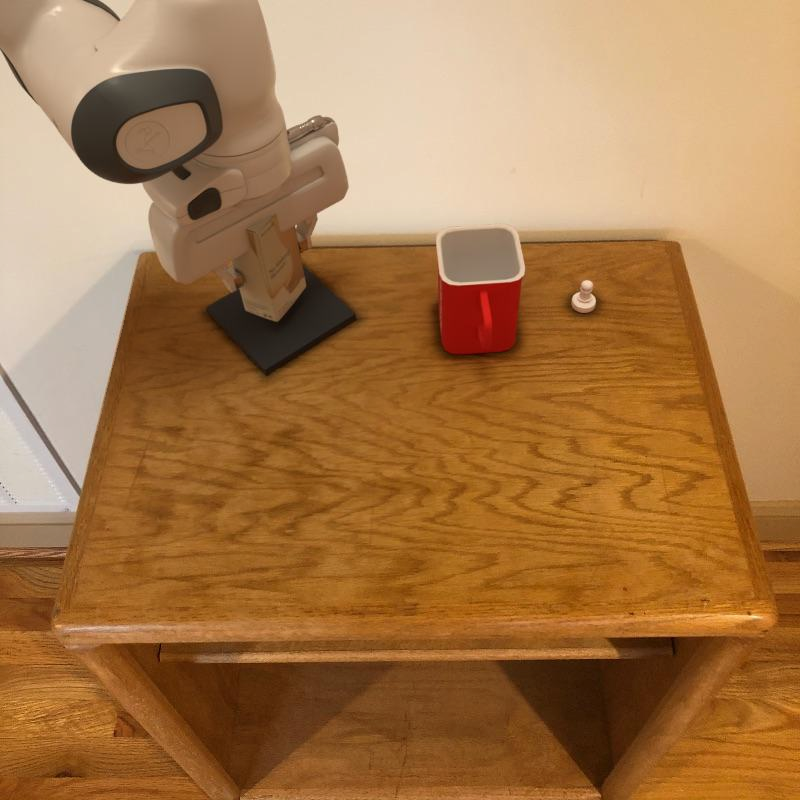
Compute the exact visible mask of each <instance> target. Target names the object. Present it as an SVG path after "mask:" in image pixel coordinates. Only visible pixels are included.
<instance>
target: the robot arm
mask: <svg viewBox="0 0 800 800" xmlns="http://www.w3.org/2000/svg"><path fill="white" fill-rule="evenodd" d="M0 52H1V53H2V56H3V58H4V60H5V61H6V63H7V65H8V67H9V69H10V71H11V72H12V74H13V76H14V77H15V79H16V81H17V83H18V84H19V85H20V87H21V88H22V89H23V90H24V91H25V93H26V94H27V95H28V96H29V97H30V98H31V99H32V101H33V102H35V104H37V105H38V107H39V108H40V110H42V112H43V113H44V114H45V116H46V117H47V118H48V119H49V121H50V122H51V123H52V125H53V126H54V127H55V129H56V130H57V131H58V133H59V134H60V136H61V138H63V140H64V141H65V143H66V144H67V145H68V146H69V148H70V149H71V150H72V151H73V153H74V154H75V155H76V156H77V158H78V159H79V160H80V162H81V163H82V164H83V166H84V167H85V168H87V169H88V171H90V172H91V173H92V174H94V175H96V177H99V178H101V179H103V180H105V181H107V182H111V183H116V184H120V185H121V184H122V185H138V184H142V186H143V189H144V191H145V193H146V195H148V197H149V198H150V199H151V201H152V202H151V204H150V206H149V209H148V217H147V219H148V220H147V221H148V226H149V232H150V236H151V240H152V244H153V247H154V250H155V253H156V256H157V259H158V261H159V263H160V265H161V267H162V269H163V270H164V271H165V272H166V274H168V276H170V278H171V279H172V280H173V281H175V282H177V283H179V284H182V285H185V286H189V285H190V284H193V283H194V282H196V281H198V280H199V279H201V278H203V277H205V276H207V275H209V274H210V273H212V272H213V273H214V274H215V275H216V276H217V277H219V278H220V279H221V280H222V283H223V285H224V286H225V288H226V289H227V290H228V291H229V293H233V292H234V291H236V290H238V289H239V288H241V287H243V286H244V283H243V282H242V281H243V278H242V275H241V274H240V273H239V272H238V271H236V269H235V268H234V267H233V265H231V266H228V264H229V263H230V262H232V260H234V259H236V258H238V257H239V256H241V255H243V254H245V253H247V252H248V251H249V246H248V242H247V238H246V234H245V230H246V229H247V228H249V227H250V226H252V225H254V224H256V223H258V222H261V221H263V220H265V219H267V218H269V217H272V216H275V215H276V214H277V217H278V222H279V228H280V231H281V232H282V233H283V232H285V231H287V230H288V229H290V228H292V227H294V226H295V227H296V233H297V238H298V244H299V249H300V255H301V254H303V253H304V252H306V251H308V250H310V249H311V248H313V242H312V236H313V233H314V231H315V227H316V225H317V222H318V214H319V213H321V212H323V211H324V210H327V209H328V208H330V207H332V206H334V205H335V204H338V203H339V202H341V201H343V200H344V199H345V197H346V195H347V193H348V190H349V188H350V187H349V186H350V185H349V179H348V175H347V170H346V166H345V163H344V160H343V156H342V153H341V151H340V149H339V144H340V135H339V128H338V125H337V123H336V121H335V120H334V119H333V118H331V117H329V116H322V115H321V114H318V115H314V116H312V117H309V118H308V119H307V120H306V121H304V122H302V123H300V124H297V125H294V126H291V127H290V128H287V125H286V119H285V114H284V110H283V107H282V105H281V104H280V101H279V100H278V98H277V95H276V80H277V70H276V64H275V60H274V59H275V58H274V54H273V50H272V44H271V42H270V36H269V33H268V29H267V25H266V22H265V17H264V13H263V12H262V8H261V5H260V3H259V0H134V2H133V4H131V6H130V8H129V9H128V11H127V12H126V13H125V14H124V16H123V17H122V18H120V17H119V16H118V14H117V13H116V12H115V10H113V9H112V8H111V7H110V6H108V5H107V4H105V3H104V2H102V1H101V0H0Z"/></svg>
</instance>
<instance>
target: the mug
mask: <svg viewBox="0 0 800 800" xmlns="http://www.w3.org/2000/svg"><path fill="white" fill-rule="evenodd" d="M520 240H521V239H520V235H519V232H518V230H517V229H516V228H515V227H513V226H512V225H510V224H507V223H489V224H488V223H487V224H474V225H459V226H450V227H445V228H442V229H441V230H439V231H438V232H437V233H436V236H435V243H436V244H435V247H436V255H437V275H438V276H437V291H438V293H437V295H438V296H437V297H438V298H437V301H438V320H439V321H438V322H439V329H440V338H441V339H440V340H441V345H442V348H443V349H444V351H446V352H447V353H448V354H451V355H470V354H486V353H487V354H488V353H502V352H506V351H509V350H511V349H512V348H513V347H514V346H515V343H516V337H517V336H516V335H517V326H518V318H519V317H518V316H519V308H520V299H521V291H522V281H523V278H524V276H525V274H526V264H525V258H524V254H523V250H522V245H521V241H520Z"/></svg>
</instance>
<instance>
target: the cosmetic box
mask: <svg viewBox="0 0 800 800" xmlns="http://www.w3.org/2000/svg"><path fill="white" fill-rule="evenodd" d="M296 227H297V226H294V227H292V228H290V229H288V230H287V231H285V232H283V233H282V232H281V231H280V228H279V222H278V217H277V214H276V215H275V216H272V217H269V218H267V219H265V220H263V221H261V222H258V223H256V224H254V225H252V226H250V227H249V228H247V229H246V230H245V234H246V238H247V242H248V246H249V251H248V252H247V253H245V254H243V255H241V256H239V257H238V258H236V259H234V260H232V261H231V263H232V266H233V267H234V268H235V269H236V271H238V272H239V273H240V274H241V275H242V278H243V281H242V282H243V283H244V286H243V287H241V288H239V289H240V293H241V296H242V300H243V304H244V307H245V310H246V311H248V312H250V313H253V314H255V315H258V316H261V317H263V318H266V319H269V320H272V321H275V322H278V321H279V320H280V319H281V318H282V317H283V315H284V314H285V313H286V312H287V311H288V310H289V308H290V307H291V306H292V305H293V303H294V302H295V301H296V300H297V298H298V297H299V296H300V294H301V293H302V292H303V290H304V289H305V288H306V282H305V276H304V271H303V266H304V265H303V260H302V255H301V254H300V249H299V244H298V238H297V233H296ZM302 265H303V266H302Z"/></svg>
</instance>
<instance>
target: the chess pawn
mask: <svg viewBox="0 0 800 800" xmlns="http://www.w3.org/2000/svg"><path fill="white" fill-rule="evenodd" d="M593 288H594V283H593V282H592V281H591V280H589V279H586V280H583V281H582V282H581V283H580V288H579V290H580V291H579V292H576V293H575V294H573V296H572V298H571V307H572V309H573V310H574V311H576V312H578V313H582V314H587V313H591V312H592V311H594V309H595V307H596V303H597V300H596V299H597V298H596V297H595V296H594V294H592V292H593Z"/></svg>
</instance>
